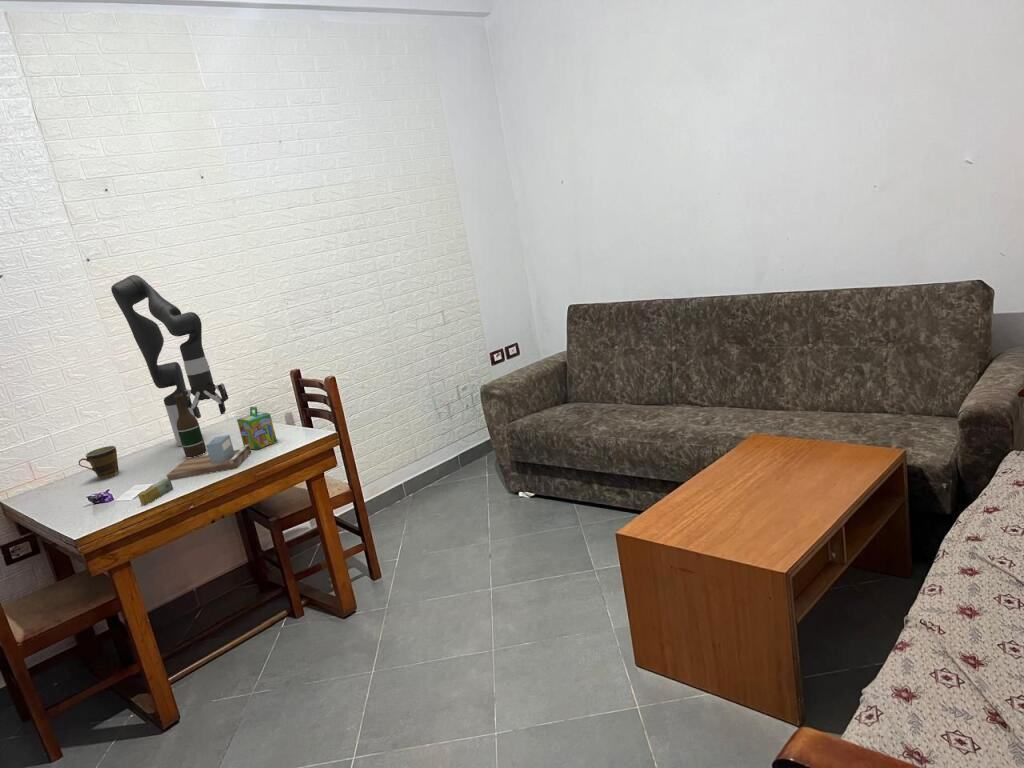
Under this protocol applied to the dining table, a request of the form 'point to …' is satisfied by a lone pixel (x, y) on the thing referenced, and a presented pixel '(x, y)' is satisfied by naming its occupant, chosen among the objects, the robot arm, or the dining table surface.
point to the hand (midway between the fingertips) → (211, 415)
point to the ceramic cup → (103, 461)
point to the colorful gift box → (257, 429)
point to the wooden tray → (208, 464)
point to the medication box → (155, 491)
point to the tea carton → (220, 449)
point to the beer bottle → (188, 429)
